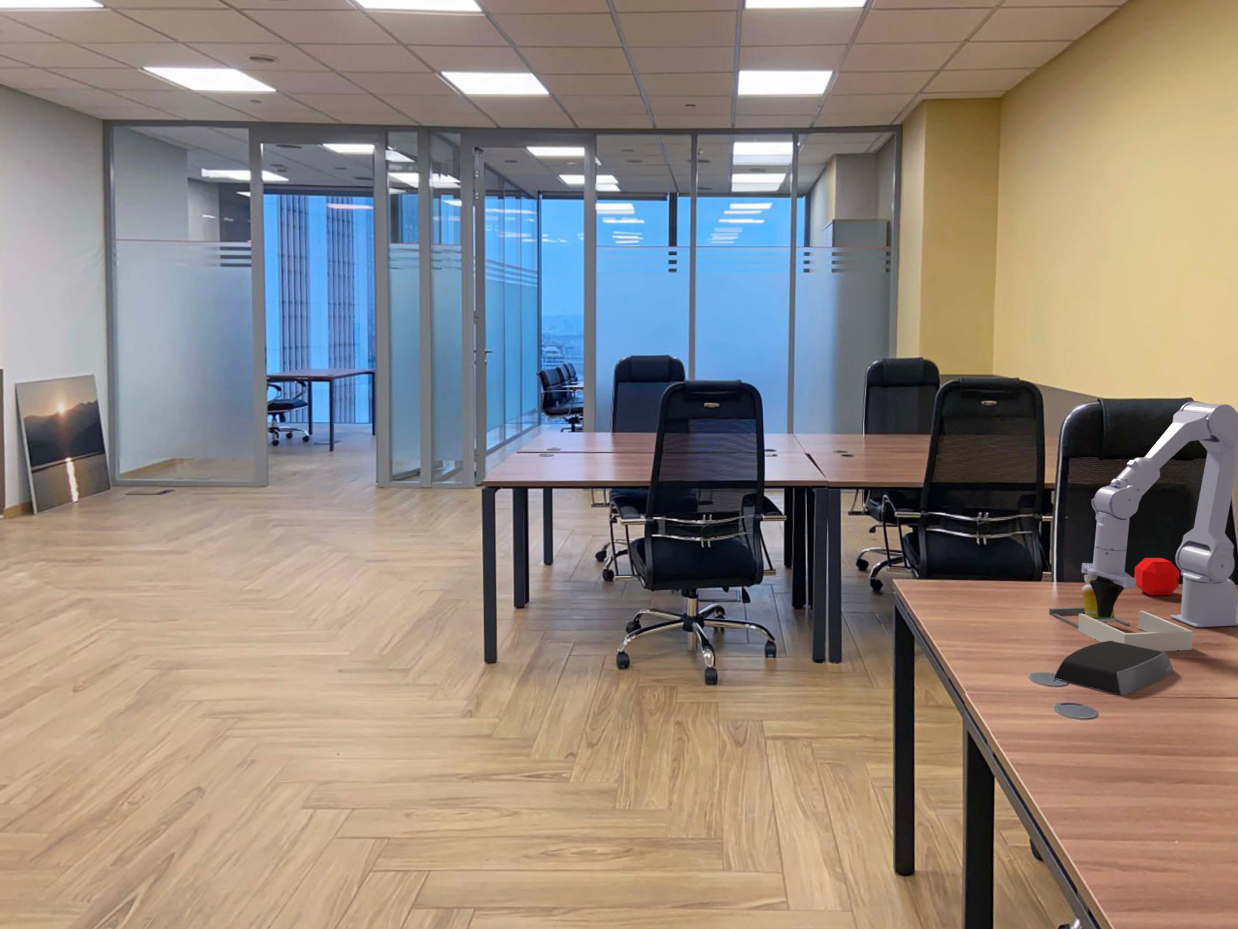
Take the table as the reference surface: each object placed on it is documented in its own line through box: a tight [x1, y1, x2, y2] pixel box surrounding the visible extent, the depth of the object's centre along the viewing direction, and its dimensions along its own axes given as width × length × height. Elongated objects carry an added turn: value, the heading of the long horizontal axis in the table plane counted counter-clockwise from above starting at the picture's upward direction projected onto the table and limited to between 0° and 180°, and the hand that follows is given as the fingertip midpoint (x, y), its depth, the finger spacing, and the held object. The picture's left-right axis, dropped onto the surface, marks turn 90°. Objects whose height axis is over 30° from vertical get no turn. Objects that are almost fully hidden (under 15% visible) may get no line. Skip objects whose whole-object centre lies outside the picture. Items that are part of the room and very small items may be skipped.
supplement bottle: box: [1081, 574, 1116, 624], centre depth 218 cm, size 5×5×10 cm
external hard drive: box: [1054, 641, 1174, 696], centre depth 187 cm, size 13×19×4 cm
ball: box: [1133, 557, 1180, 596], centre depth 243 cm, size 8×8×8 cm
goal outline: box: [1048, 606, 1130, 629], centre depth 222 cm, size 11×10×1 cm
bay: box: [1077, 610, 1194, 652], centre depth 207 cm, size 14×15×4 cm
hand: (1103, 616), depth 214 cm, fingers closed, pressing on supplement bottle
